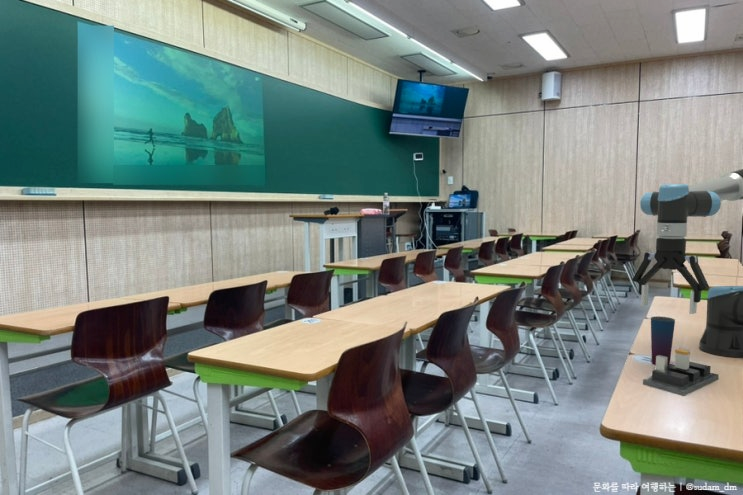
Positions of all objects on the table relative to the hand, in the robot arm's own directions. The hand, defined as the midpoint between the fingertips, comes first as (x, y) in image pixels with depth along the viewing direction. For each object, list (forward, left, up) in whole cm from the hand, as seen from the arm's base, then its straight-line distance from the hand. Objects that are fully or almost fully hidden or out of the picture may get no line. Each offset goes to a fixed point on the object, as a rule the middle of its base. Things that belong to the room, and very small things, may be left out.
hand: (667, 309), depth 153 cm
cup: (-12, -7, -21) cm, 25 cm away
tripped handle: (0, +5, -16) cm, 17 cm away
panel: (0, +5, -21) cm, 21 cm away
